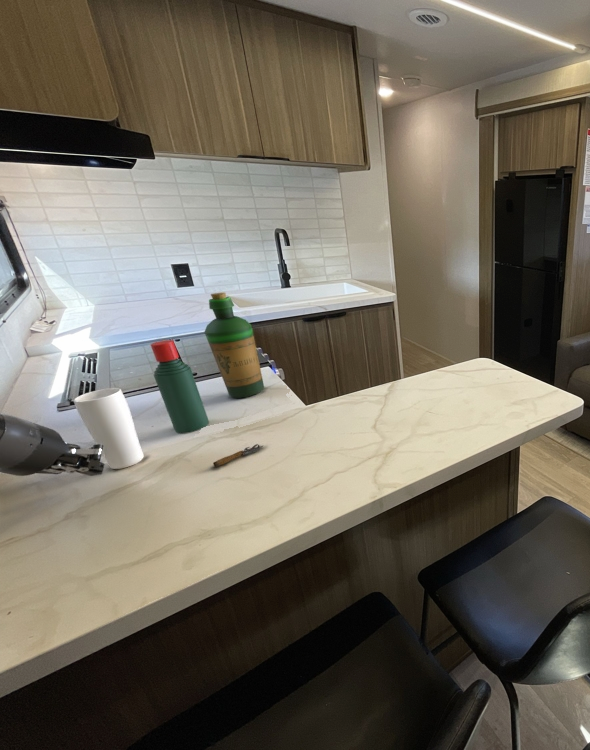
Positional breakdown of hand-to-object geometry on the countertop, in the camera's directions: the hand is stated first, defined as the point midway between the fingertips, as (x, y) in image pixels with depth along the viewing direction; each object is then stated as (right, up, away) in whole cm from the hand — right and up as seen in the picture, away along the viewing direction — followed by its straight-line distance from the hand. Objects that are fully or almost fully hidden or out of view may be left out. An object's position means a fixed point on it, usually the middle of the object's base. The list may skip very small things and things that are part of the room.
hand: (98, 469), depth 73 cm
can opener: (+21, +1, +7) cm, 23 cm away
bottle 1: (+1, +5, +21) cm, 22 cm away
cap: (0, +21, +15) cm, 26 cm away
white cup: (-1, 0, +7) cm, 7 cm away
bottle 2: (+2, +12, +40) cm, 42 cm away
